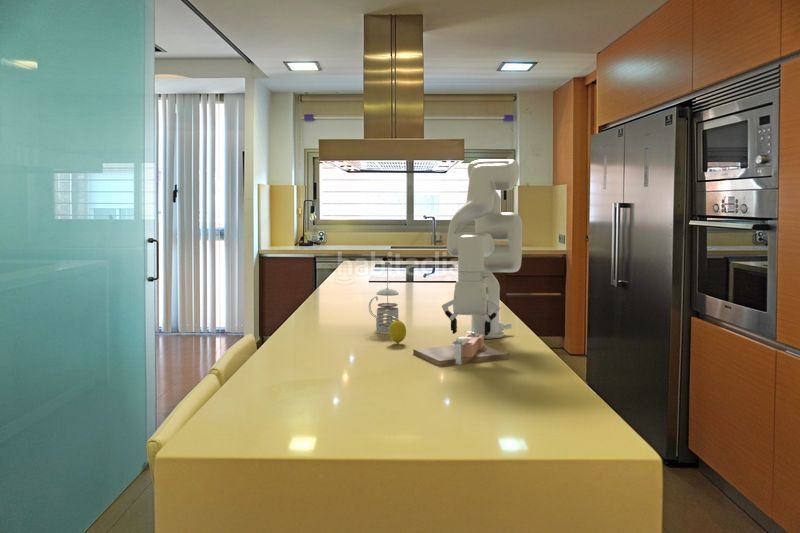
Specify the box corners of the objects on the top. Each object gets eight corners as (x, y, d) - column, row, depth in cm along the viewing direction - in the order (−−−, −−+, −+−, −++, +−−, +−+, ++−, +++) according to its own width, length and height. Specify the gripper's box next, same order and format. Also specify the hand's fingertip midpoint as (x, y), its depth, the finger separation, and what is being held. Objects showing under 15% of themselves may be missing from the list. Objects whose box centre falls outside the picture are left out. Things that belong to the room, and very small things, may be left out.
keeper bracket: (459, 358, 202) (459, 336, 201) (470, 359, 201) (471, 337, 200) (451, 364, 194) (451, 342, 194) (463, 365, 193) (463, 342, 193)
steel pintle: (474, 346, 211) (474, 331, 211) (477, 347, 209) (478, 333, 209) (468, 346, 210) (469, 332, 210) (472, 348, 209) (472, 333, 208)
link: (466, 345, 213) (466, 333, 213) (483, 346, 212) (483, 334, 211) (455, 356, 197) (456, 344, 197) (474, 357, 196) (474, 345, 195)
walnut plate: (479, 347, 217) (479, 342, 217) (509, 358, 201) (509, 353, 201) (413, 354, 207) (413, 349, 207) (439, 366, 192) (439, 360, 192)
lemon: (404, 345, 219) (404, 321, 219) (387, 345, 220) (387, 320, 220) (407, 342, 225) (407, 318, 224) (391, 341, 226) (391, 317, 225)
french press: (398, 334, 239) (398, 262, 236) (365, 333, 241) (365, 262, 239) (403, 329, 248) (403, 260, 246) (372, 328, 251) (372, 260, 248)
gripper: (501, 276, 204) (501, 332, 206) (444, 274, 208) (444, 329, 210) (498, 279, 196) (497, 338, 198) (439, 277, 201) (439, 334, 203)
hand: (470, 333), depth 204 cm, fingers open, 9 cm apart
